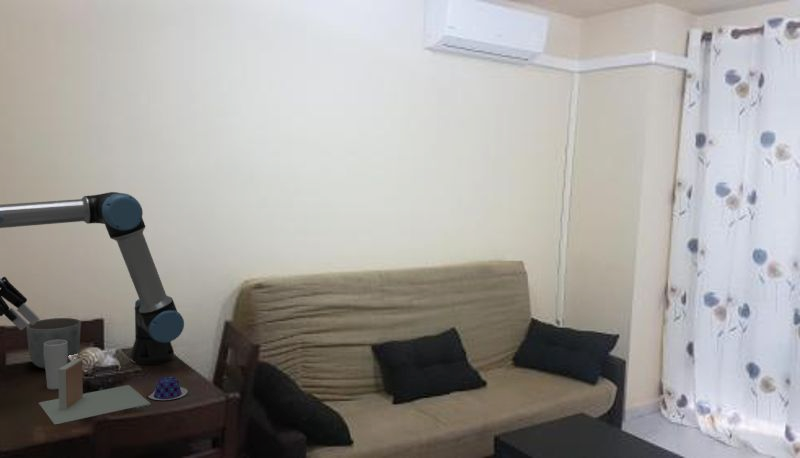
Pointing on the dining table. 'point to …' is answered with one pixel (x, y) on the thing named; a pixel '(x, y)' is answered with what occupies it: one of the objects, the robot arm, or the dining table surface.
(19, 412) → the dining table surface
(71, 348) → the planter
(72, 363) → the ceramic tile
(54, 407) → the rubber mat
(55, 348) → the drinking glass
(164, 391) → the pudding
